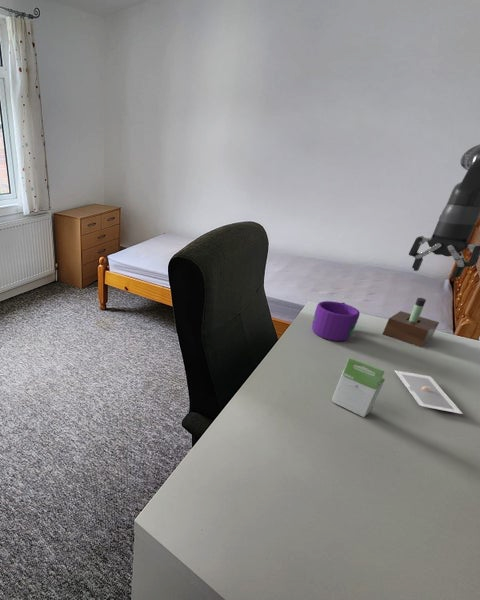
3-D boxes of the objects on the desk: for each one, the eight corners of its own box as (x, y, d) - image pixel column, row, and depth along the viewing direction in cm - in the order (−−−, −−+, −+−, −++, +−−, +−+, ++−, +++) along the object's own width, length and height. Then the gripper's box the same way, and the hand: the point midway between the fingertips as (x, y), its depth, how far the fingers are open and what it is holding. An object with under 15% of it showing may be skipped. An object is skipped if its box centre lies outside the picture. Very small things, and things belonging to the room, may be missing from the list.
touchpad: (428, 379, 92) (432, 373, 91) (460, 417, 79) (465, 410, 78) (392, 373, 94) (395, 367, 93) (418, 409, 82) (421, 402, 81)
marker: (404, 333, 113) (418, 297, 107) (412, 335, 112) (427, 299, 105) (401, 335, 113) (416, 299, 106) (409, 338, 111) (424, 301, 104)
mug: (346, 347, 106) (356, 319, 102) (305, 334, 114) (313, 308, 110) (357, 328, 117) (366, 302, 113) (319, 317, 125) (326, 292, 121)
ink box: (370, 411, 81) (391, 365, 76) (364, 418, 79) (384, 371, 74) (337, 395, 86) (354, 351, 81) (330, 401, 84) (347, 357, 79)
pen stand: (394, 326, 118) (400, 310, 116) (431, 338, 111) (439, 322, 108) (382, 334, 114) (388, 318, 111) (420, 347, 106) (428, 330, 103)
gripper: (498, 223, 93) (471, 278, 99) (428, 215, 104) (408, 265, 110) (490, 226, 89) (463, 283, 96) (419, 218, 100) (399, 270, 107)
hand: (434, 274), depth 103 cm, fingers open, 8 cm apart
